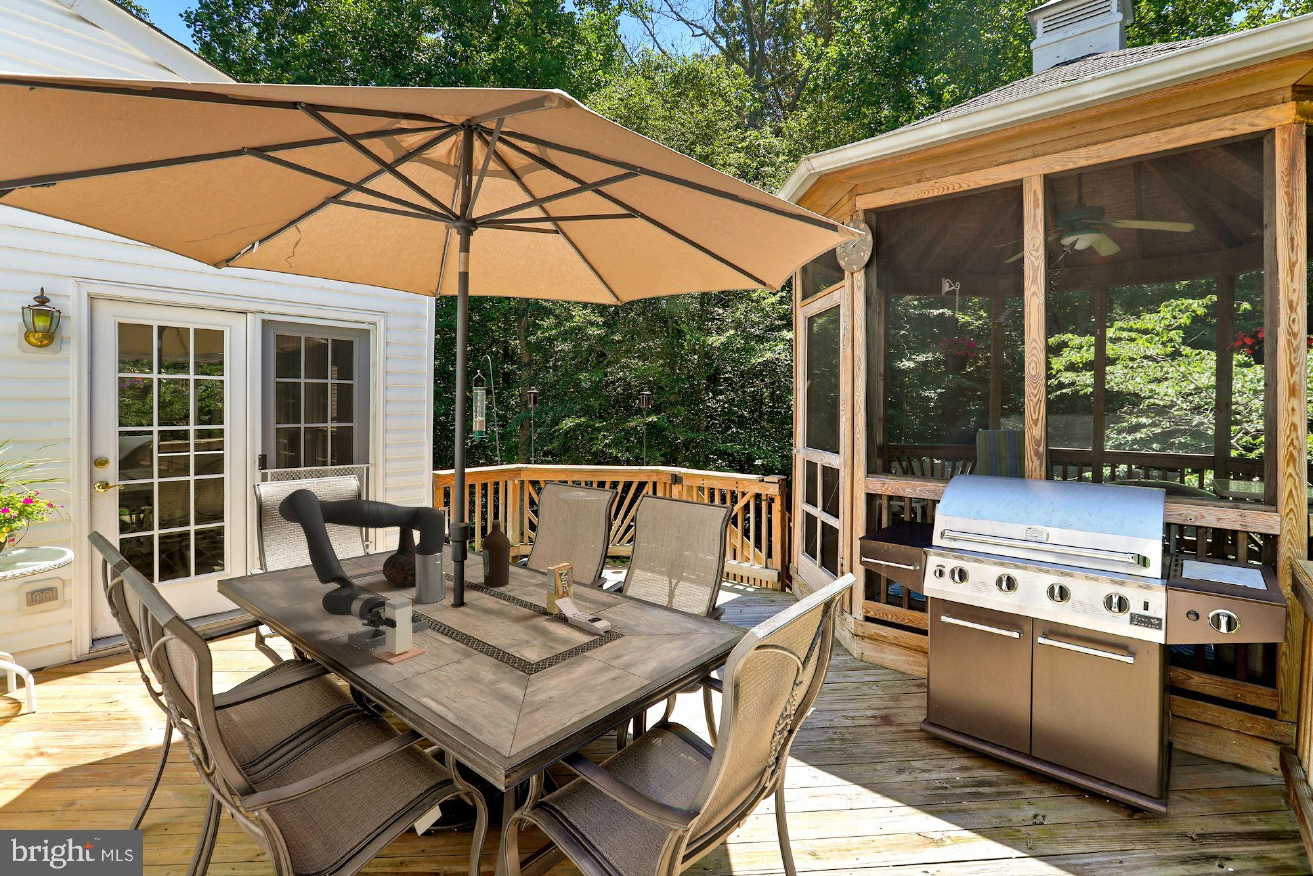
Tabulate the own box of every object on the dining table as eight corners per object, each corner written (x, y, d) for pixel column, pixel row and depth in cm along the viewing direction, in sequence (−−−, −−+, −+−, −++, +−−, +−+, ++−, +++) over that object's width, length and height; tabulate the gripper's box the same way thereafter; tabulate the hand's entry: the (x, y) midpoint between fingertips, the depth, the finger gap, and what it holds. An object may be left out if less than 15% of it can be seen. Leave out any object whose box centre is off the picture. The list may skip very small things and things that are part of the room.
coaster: (405, 644, 182) (405, 642, 182) (425, 652, 176) (425, 650, 176) (372, 655, 174) (372, 653, 174) (393, 664, 168) (393, 662, 168)
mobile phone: (567, 596, 210) (616, 614, 192) (567, 613, 210) (616, 632, 193) (552, 600, 206) (601, 619, 188) (553, 617, 206) (601, 638, 188)
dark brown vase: (441, 578, 249) (440, 509, 247) (414, 592, 232) (413, 517, 230) (402, 575, 253) (401, 507, 251) (372, 588, 236) (371, 515, 234)
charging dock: (412, 623, 199) (412, 614, 199) (430, 629, 194) (430, 620, 194) (347, 643, 182) (347, 633, 182) (365, 651, 176) (365, 641, 176)
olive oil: (506, 578, 250) (506, 517, 248) (513, 585, 240) (513, 522, 239) (479, 582, 245) (479, 519, 243) (485, 589, 235) (485, 524, 234)
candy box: (564, 605, 218) (564, 562, 217) (573, 607, 216) (573, 564, 215) (546, 612, 211) (546, 567, 210) (555, 614, 208) (555, 569, 208)
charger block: (402, 644, 178) (401, 596, 177) (412, 648, 175) (411, 600, 175) (385, 650, 174) (385, 601, 173) (396, 654, 171) (395, 604, 171)
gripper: (346, 603, 177) (380, 615, 167) (393, 590, 188) (426, 601, 178) (347, 628, 177) (380, 643, 167) (393, 615, 189) (427, 627, 179)
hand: (404, 621), depth 173 cm, fingers closed on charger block, 5 cm apart
